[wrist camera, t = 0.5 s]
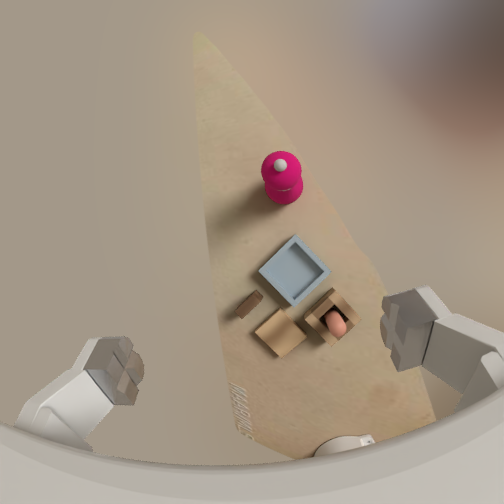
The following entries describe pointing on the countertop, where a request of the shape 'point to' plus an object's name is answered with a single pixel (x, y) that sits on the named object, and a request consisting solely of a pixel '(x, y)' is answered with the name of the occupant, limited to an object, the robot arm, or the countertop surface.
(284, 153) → the pepper mill
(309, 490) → the robot arm
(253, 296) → the block
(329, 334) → the socket block
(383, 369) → the countertop surface
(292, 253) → the tray
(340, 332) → the dowel
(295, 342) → the tan wooden cuboid
